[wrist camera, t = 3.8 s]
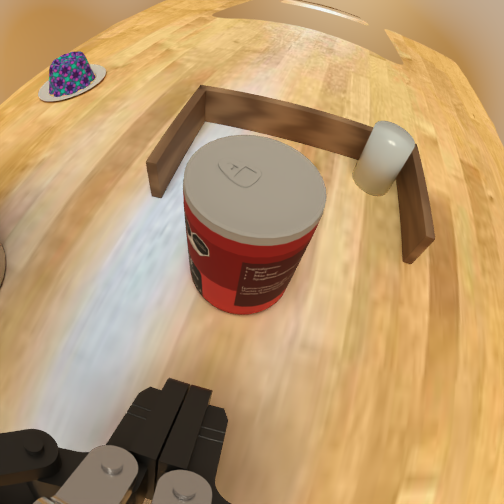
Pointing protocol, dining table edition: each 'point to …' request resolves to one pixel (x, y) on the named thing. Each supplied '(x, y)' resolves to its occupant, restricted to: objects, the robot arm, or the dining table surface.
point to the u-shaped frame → (296, 129)
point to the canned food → (249, 219)
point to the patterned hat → (70, 77)
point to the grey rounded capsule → (382, 158)
